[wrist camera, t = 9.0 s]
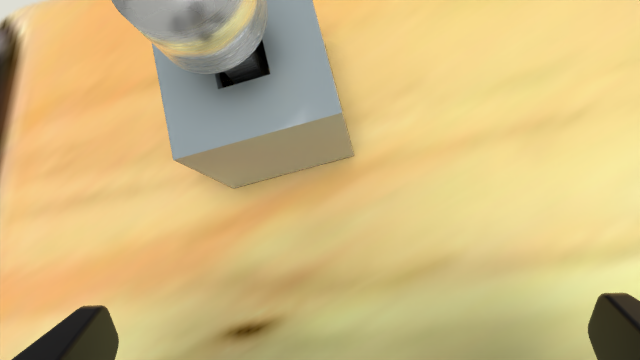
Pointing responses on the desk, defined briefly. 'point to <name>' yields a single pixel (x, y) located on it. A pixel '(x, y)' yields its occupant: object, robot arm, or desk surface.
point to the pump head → (204, 33)
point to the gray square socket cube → (259, 107)
